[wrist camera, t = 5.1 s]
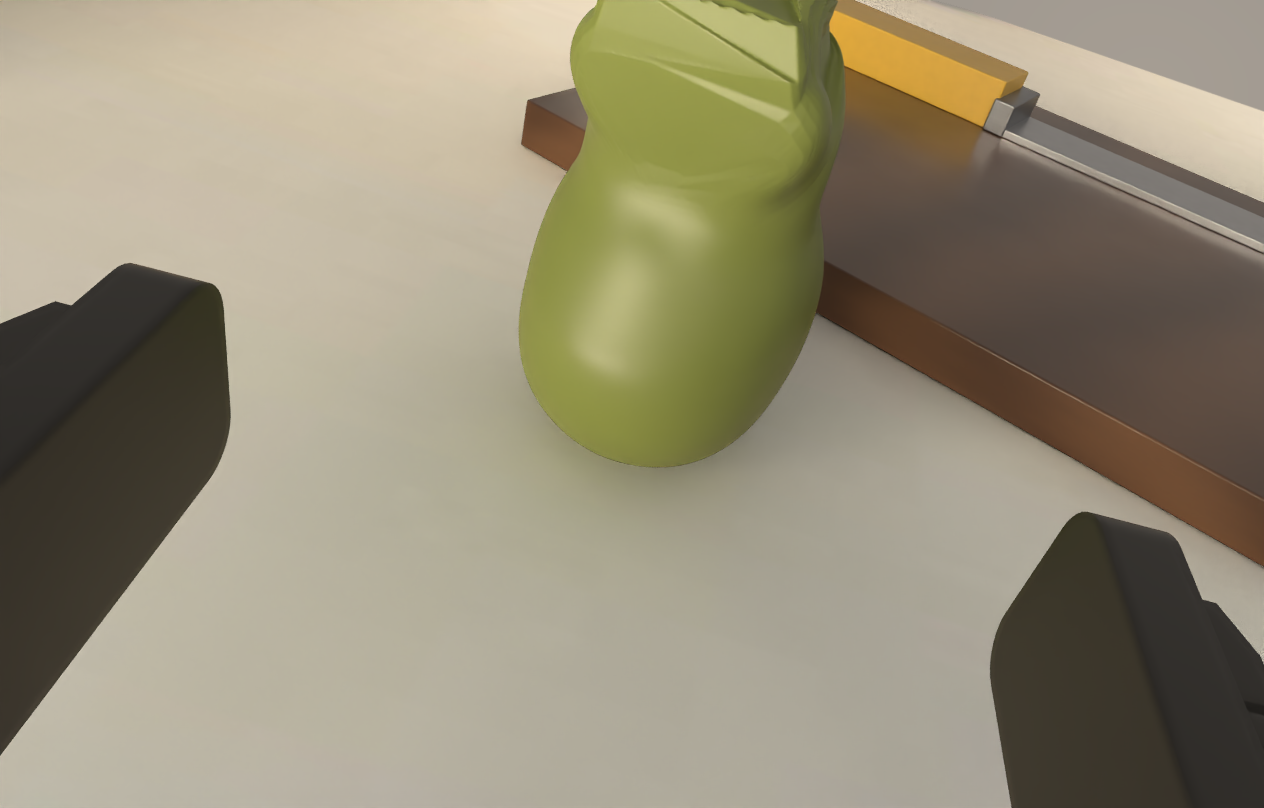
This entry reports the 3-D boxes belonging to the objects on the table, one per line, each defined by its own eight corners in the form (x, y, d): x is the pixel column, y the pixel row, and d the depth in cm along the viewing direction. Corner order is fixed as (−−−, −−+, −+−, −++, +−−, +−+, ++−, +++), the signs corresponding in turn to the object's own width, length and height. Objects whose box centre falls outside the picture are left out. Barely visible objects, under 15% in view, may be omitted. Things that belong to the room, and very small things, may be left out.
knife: (783, 40, 40) (796, -5, 39) (817, 32, 42) (830, -12, 41) (1370, 302, 31) (1409, 253, 30) (1378, 276, 33) (1415, 229, 32)
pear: (790, 429, 22) (971, -25, 16) (685, 565, 18) (871, 34, 12) (585, 325, 24) (679, -124, 18) (449, 430, 20) (509, -100, 14)
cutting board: (520, 144, 31) (526, 99, 30) (825, 53, 45) (835, 20, 44) (1306, 592, 22) (1350, 546, 21) (1387, 302, 35) (1416, 267, 34)
